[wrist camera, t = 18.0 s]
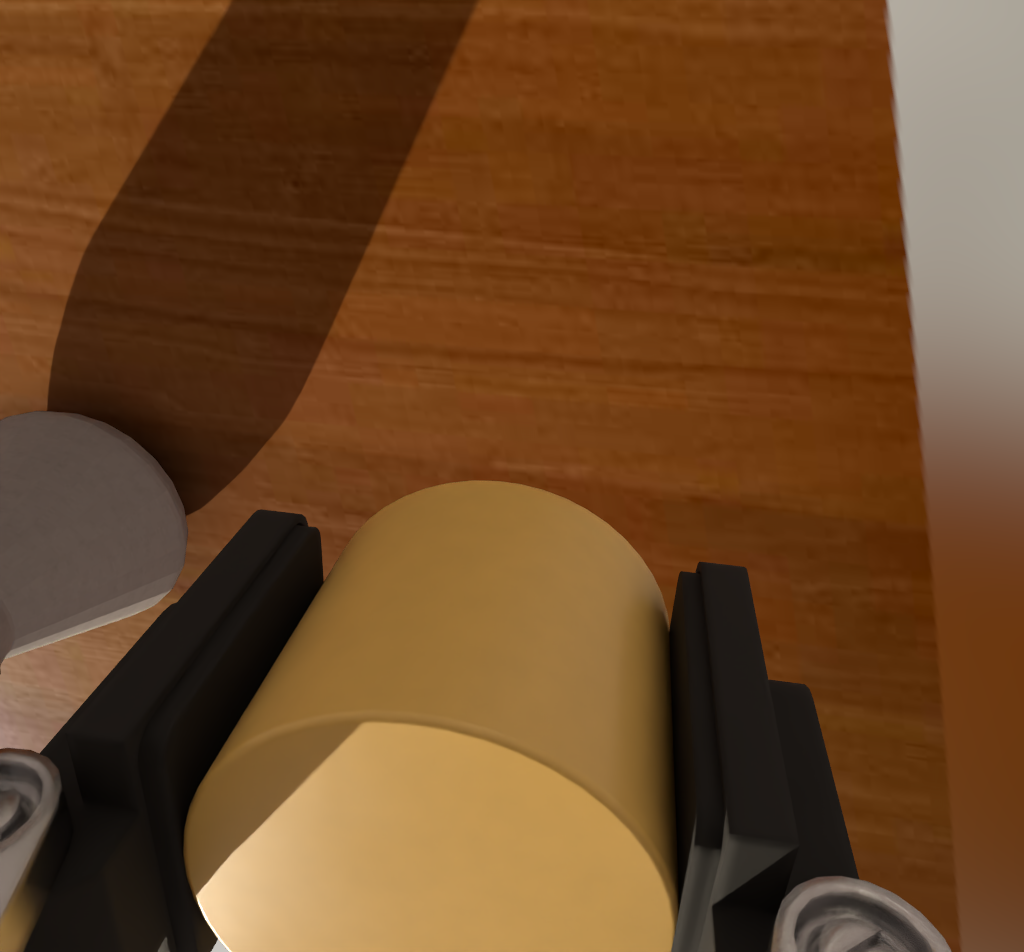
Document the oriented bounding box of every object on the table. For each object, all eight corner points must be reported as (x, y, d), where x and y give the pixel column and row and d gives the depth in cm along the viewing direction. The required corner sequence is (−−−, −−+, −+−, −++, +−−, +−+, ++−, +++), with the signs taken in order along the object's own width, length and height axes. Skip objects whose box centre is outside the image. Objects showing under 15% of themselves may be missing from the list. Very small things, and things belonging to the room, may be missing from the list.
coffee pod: (600, 432, 9) (572, 662, 6) (713, 724, 11) (744, 1044, 7) (272, 532, 11) (84, 773, 7) (416, 781, 12) (322, 1078, 9)
